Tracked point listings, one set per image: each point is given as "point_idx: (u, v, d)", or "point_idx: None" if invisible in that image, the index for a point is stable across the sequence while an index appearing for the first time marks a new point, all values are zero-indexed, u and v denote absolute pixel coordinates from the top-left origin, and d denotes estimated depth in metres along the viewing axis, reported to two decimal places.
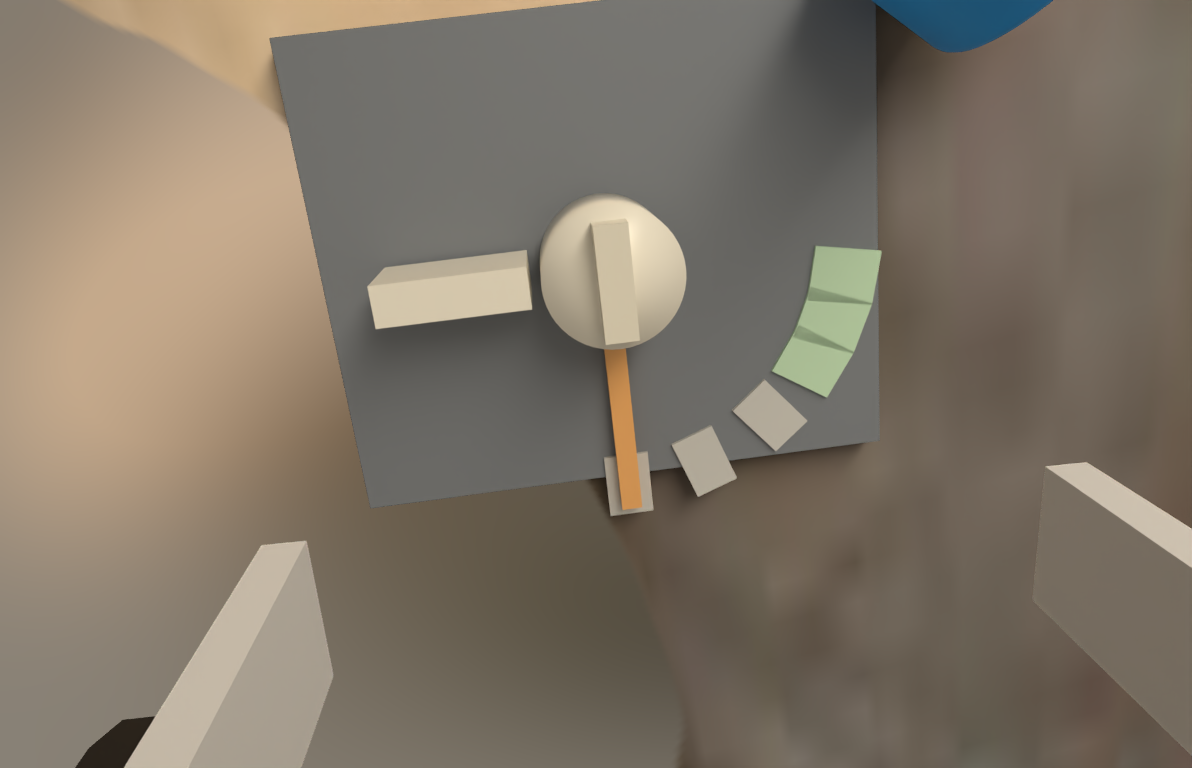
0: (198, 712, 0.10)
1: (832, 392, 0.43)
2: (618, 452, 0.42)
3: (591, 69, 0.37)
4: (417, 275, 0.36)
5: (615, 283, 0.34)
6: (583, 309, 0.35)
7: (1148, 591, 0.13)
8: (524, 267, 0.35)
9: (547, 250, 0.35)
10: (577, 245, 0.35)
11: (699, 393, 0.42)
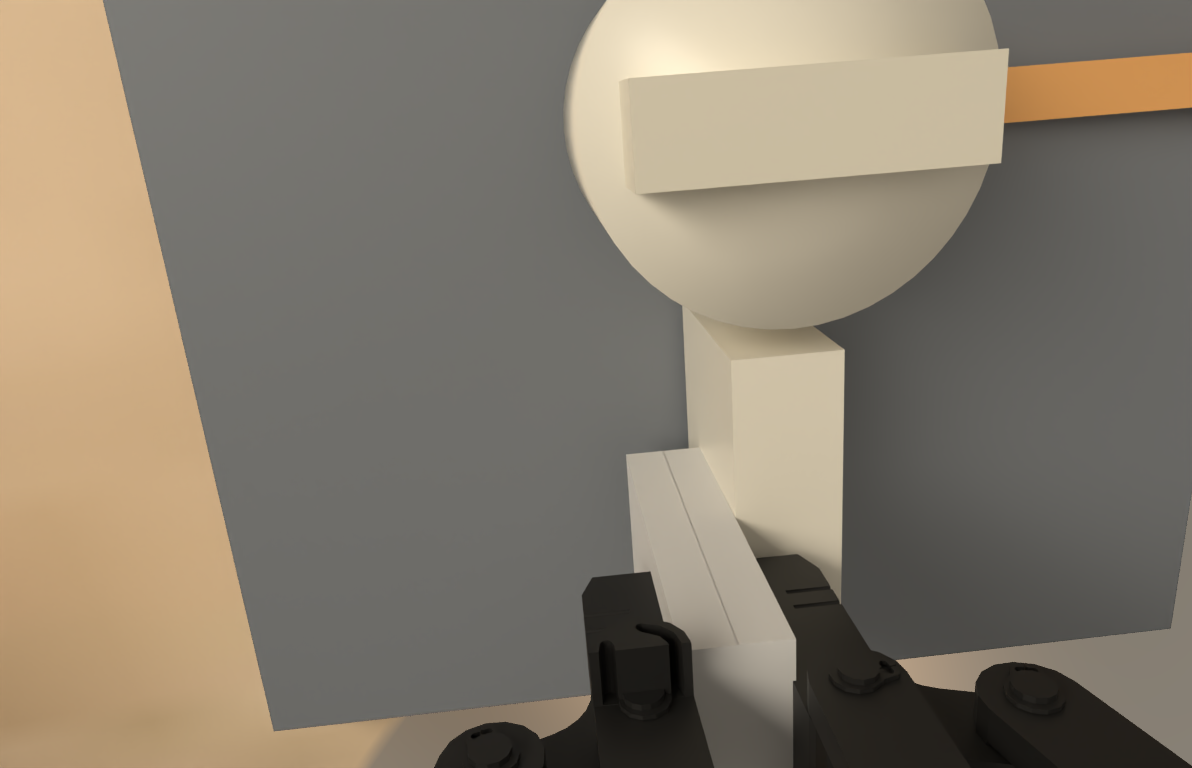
0: (689, 560, 0.13)
1: None
2: None
3: (282, 133, 0.16)
4: None
5: (817, 126, 0.11)
6: (866, 214, 0.12)
7: None
8: (732, 364, 0.13)
9: (693, 308, 0.13)
10: (687, 224, 0.12)
11: None
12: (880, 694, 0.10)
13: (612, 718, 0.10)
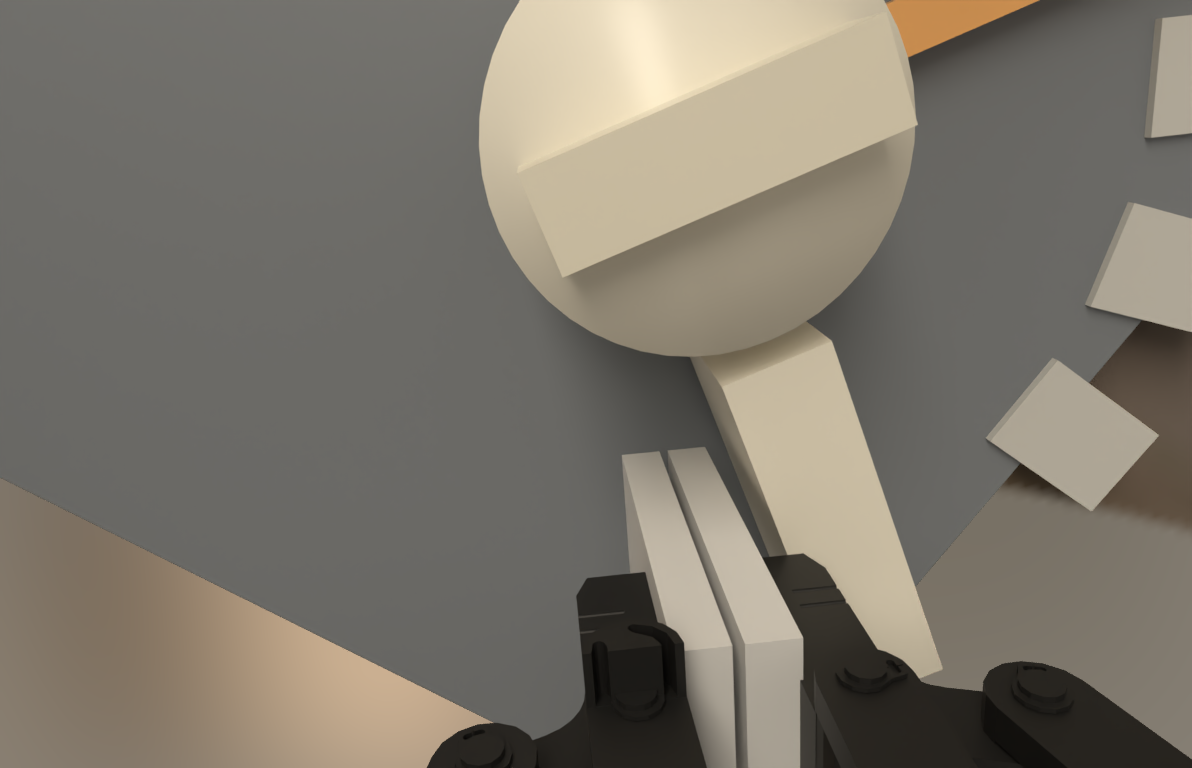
0: (684, 560, 0.13)
1: None
2: None
3: None
4: None
5: (717, 154, 0.11)
6: (806, 208, 0.12)
7: None
8: (724, 390, 0.13)
9: (666, 351, 0.13)
10: (631, 276, 0.12)
11: (1054, 172, 0.17)
12: (887, 693, 0.10)
13: (605, 719, 0.10)
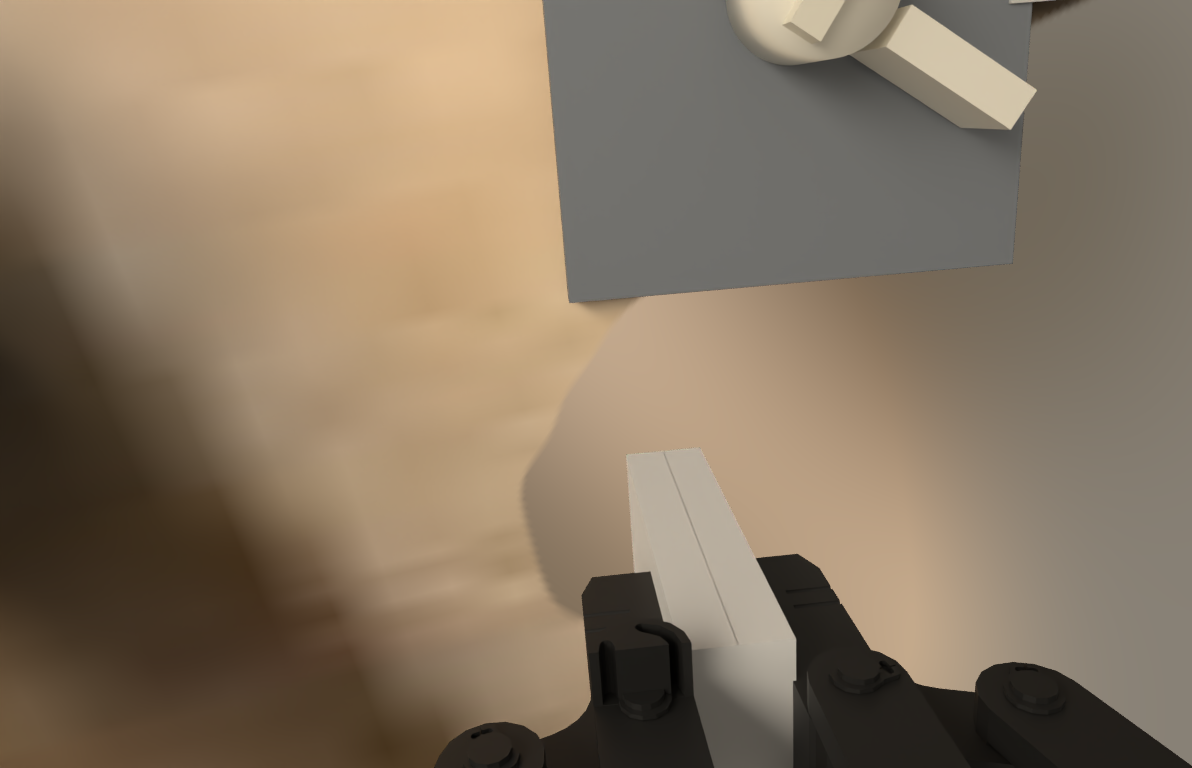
0: (690, 560, 0.13)
1: None
2: None
3: None
4: (962, 106, 0.36)
5: None
6: None
7: None
8: (887, 47, 0.34)
9: (861, 47, 0.34)
10: (835, 31, 0.34)
11: None
12: (880, 694, 0.10)
13: (612, 718, 0.10)
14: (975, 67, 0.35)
